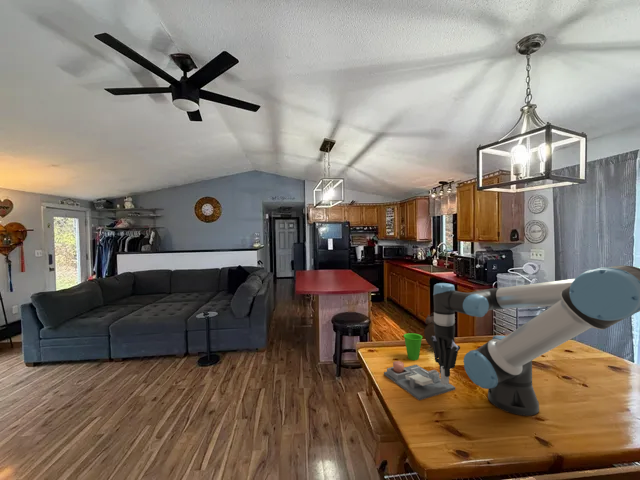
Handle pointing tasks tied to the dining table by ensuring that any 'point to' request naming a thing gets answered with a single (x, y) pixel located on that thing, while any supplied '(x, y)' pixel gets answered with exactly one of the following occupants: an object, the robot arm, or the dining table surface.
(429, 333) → the alarm clock
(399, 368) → the round button
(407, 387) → the panel
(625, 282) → the robot arm
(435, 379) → the slider knob
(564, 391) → the dining table surface
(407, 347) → the cup
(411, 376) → the paddle
